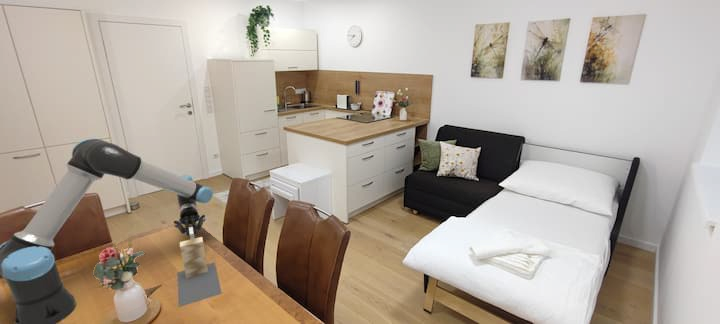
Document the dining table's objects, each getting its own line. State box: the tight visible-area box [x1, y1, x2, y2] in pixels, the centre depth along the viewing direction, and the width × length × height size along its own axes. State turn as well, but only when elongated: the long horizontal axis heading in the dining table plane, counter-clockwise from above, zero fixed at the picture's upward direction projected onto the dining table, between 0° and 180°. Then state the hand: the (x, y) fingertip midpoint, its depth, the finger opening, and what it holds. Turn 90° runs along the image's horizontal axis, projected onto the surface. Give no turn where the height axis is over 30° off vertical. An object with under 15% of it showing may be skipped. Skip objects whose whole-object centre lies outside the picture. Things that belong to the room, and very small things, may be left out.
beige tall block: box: [179, 236, 208, 278], centre depth 130 cm, size 8×4×14 cm, turn 119°
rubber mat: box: [176, 261, 223, 308], centre depth 126 cm, size 14×22×1 cm, turn 29°
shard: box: [143, 284, 163, 299], centre depth 119 cm, size 11×8×2 cm
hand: (192, 236), depth 135 cm, fingers closed
